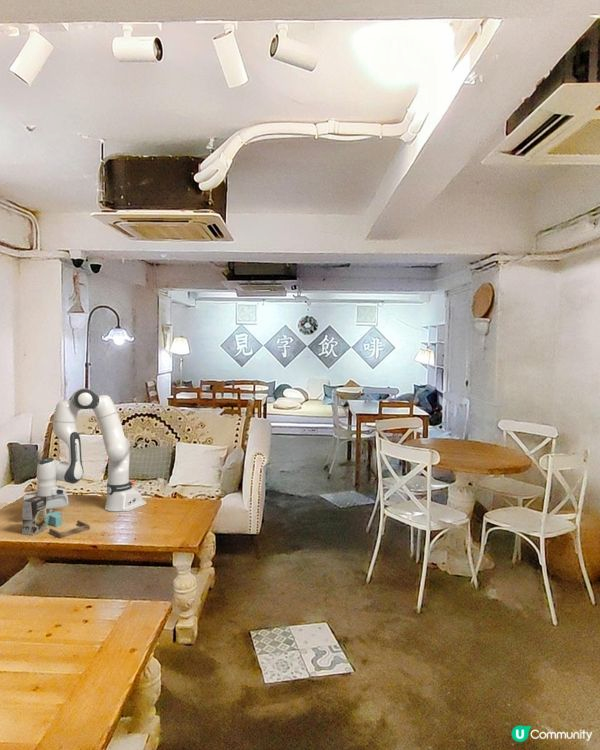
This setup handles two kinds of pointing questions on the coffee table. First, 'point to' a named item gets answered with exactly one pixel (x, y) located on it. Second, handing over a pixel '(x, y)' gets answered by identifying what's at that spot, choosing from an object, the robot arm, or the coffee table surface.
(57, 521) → the t block
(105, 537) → the coffee table surface
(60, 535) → the dark u-shaped bracket
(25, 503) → the coffee box
